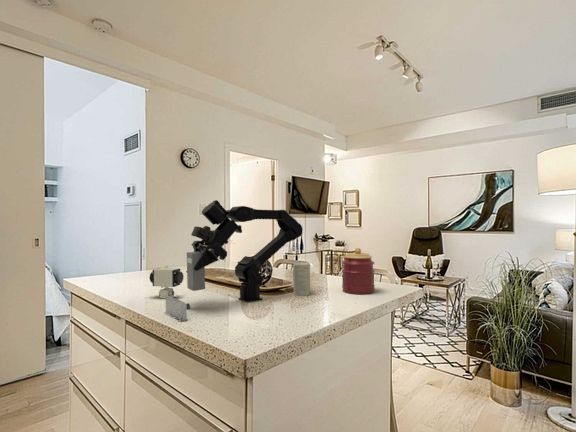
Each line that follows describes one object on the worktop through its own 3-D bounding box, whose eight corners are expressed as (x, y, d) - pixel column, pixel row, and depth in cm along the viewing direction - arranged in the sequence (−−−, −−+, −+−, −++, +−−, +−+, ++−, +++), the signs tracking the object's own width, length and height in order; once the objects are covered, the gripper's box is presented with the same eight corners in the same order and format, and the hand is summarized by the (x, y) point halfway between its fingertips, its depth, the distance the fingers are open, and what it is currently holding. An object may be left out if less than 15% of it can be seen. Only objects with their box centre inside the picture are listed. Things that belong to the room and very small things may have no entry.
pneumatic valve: (177, 299, 122) (177, 267, 122) (149, 298, 124) (149, 266, 124) (185, 296, 127) (184, 265, 128) (157, 295, 130) (157, 264, 130)
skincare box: (310, 293, 131) (310, 262, 131) (309, 295, 127) (308, 264, 127) (294, 292, 132) (294, 262, 132) (292, 295, 128) (292, 263, 128)
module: (199, 286, 113) (198, 251, 113) (205, 289, 108) (204, 252, 108) (187, 288, 110) (186, 252, 110) (193, 290, 106) (192, 253, 106)
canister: (341, 294, 129) (340, 249, 130) (343, 287, 142) (342, 246, 142) (375, 295, 127) (374, 249, 127) (374, 288, 139) (373, 246, 140)
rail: (174, 310, 107) (174, 295, 107) (190, 319, 97) (190, 302, 97) (165, 312, 105) (165, 296, 105) (181, 321, 95) (181, 304, 95)
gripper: (196, 218, 119) (165, 251, 113) (217, 217, 104) (183, 255, 98) (217, 238, 124) (188, 271, 117) (240, 240, 109) (209, 278, 102)
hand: (191, 269), depth 108 cm, fingers closed on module, 5 cm apart
